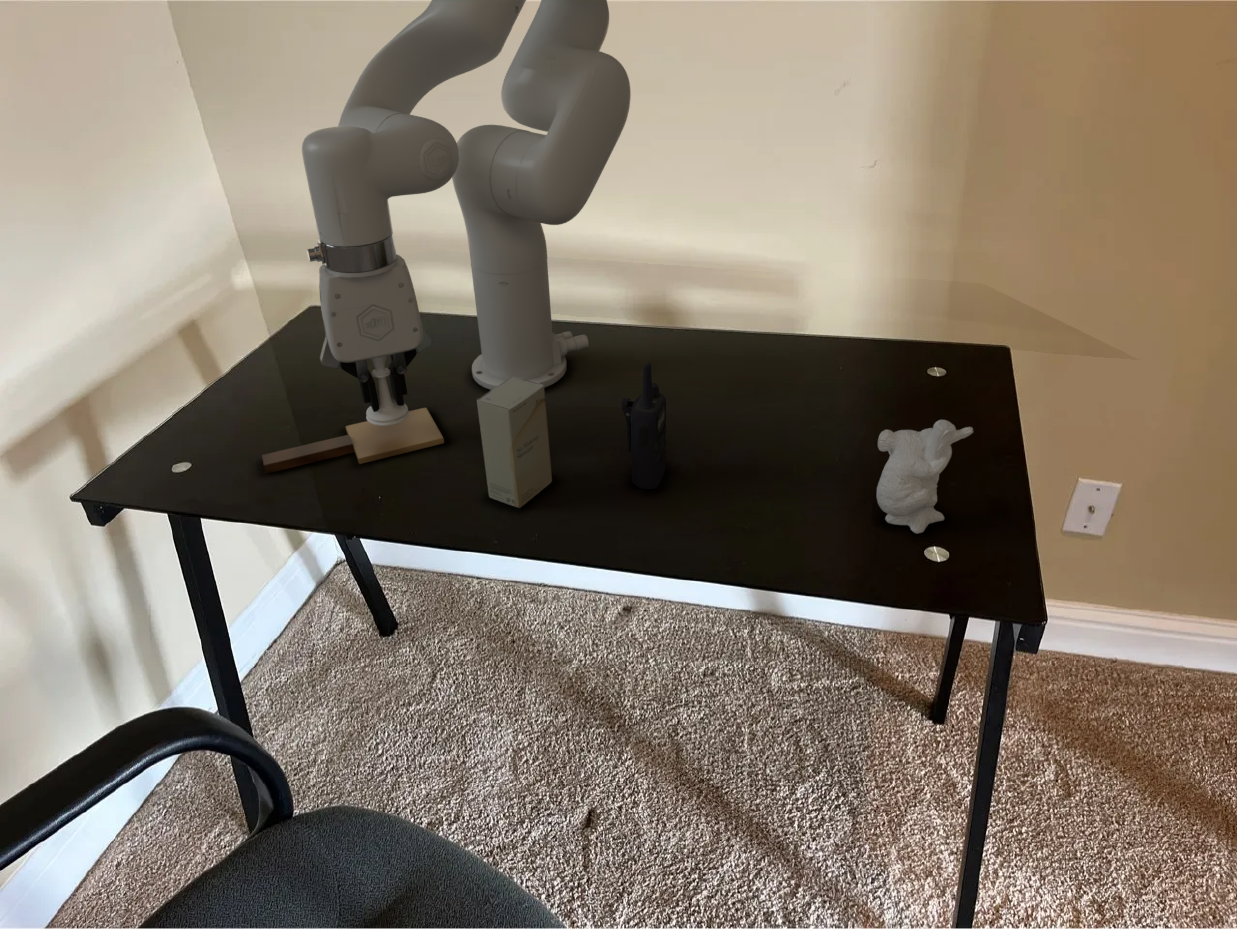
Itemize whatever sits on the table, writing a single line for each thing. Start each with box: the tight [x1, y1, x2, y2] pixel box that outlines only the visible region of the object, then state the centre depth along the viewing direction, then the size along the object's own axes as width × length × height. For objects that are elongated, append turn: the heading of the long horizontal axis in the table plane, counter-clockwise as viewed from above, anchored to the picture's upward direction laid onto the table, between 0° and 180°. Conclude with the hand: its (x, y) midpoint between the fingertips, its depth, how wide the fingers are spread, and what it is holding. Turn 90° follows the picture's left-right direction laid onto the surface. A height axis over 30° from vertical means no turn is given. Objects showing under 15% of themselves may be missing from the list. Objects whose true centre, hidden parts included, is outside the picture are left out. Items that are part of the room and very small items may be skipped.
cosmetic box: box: [476, 377, 553, 509], centre depth 97 cm, size 6×4×12 cm
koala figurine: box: [875, 419, 975, 535], centre depth 91 cm, size 8×7×12 cm
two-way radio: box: [621, 361, 668, 490], centre depth 98 cm, size 6×4×15 cm
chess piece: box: [365, 355, 410, 426], centre depth 105 cm, size 5×5×10 cm
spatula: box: [261, 407, 445, 475], centre depth 108 cm, size 20×8×1 cm, turn 114°
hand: (386, 402), depth 107 cm, fingers closed on chess piece
